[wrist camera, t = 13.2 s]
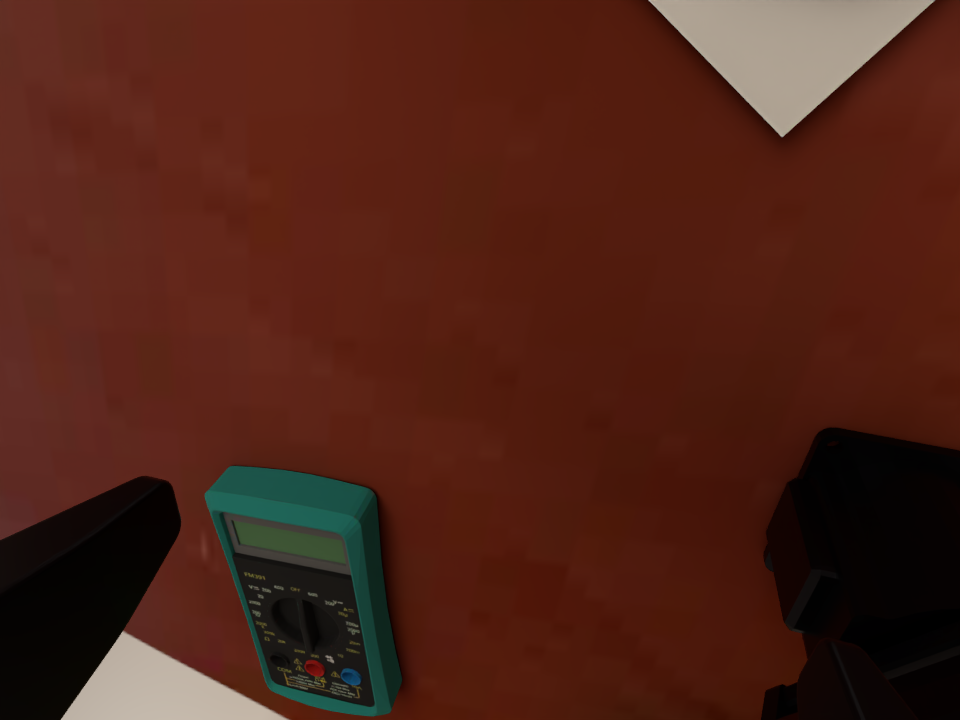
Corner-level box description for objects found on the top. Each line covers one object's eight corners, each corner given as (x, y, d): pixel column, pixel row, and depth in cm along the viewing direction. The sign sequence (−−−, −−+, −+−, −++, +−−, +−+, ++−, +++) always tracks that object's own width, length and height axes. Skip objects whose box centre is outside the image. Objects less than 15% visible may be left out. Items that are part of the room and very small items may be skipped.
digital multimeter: (287, 654, 36) (260, 702, 34) (230, 453, 29) (190, 497, 26) (407, 681, 35) (388, 734, 32) (380, 476, 27) (353, 525, 25)
